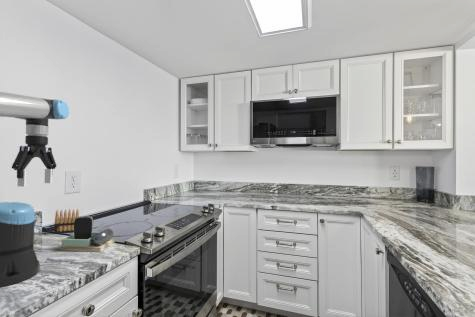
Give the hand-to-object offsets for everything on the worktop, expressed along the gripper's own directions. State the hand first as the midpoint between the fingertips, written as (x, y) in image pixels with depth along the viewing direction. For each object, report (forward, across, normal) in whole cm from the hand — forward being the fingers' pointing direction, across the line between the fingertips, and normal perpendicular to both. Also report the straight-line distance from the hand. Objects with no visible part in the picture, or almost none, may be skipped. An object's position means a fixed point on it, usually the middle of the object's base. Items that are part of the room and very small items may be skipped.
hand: (35, 184), depth 104 cm
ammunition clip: (+27, -20, 0) cm, 34 cm away
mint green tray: (+27, -2, +22) cm, 35 cm away
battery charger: (+25, -2, +20) cm, 32 cm away
